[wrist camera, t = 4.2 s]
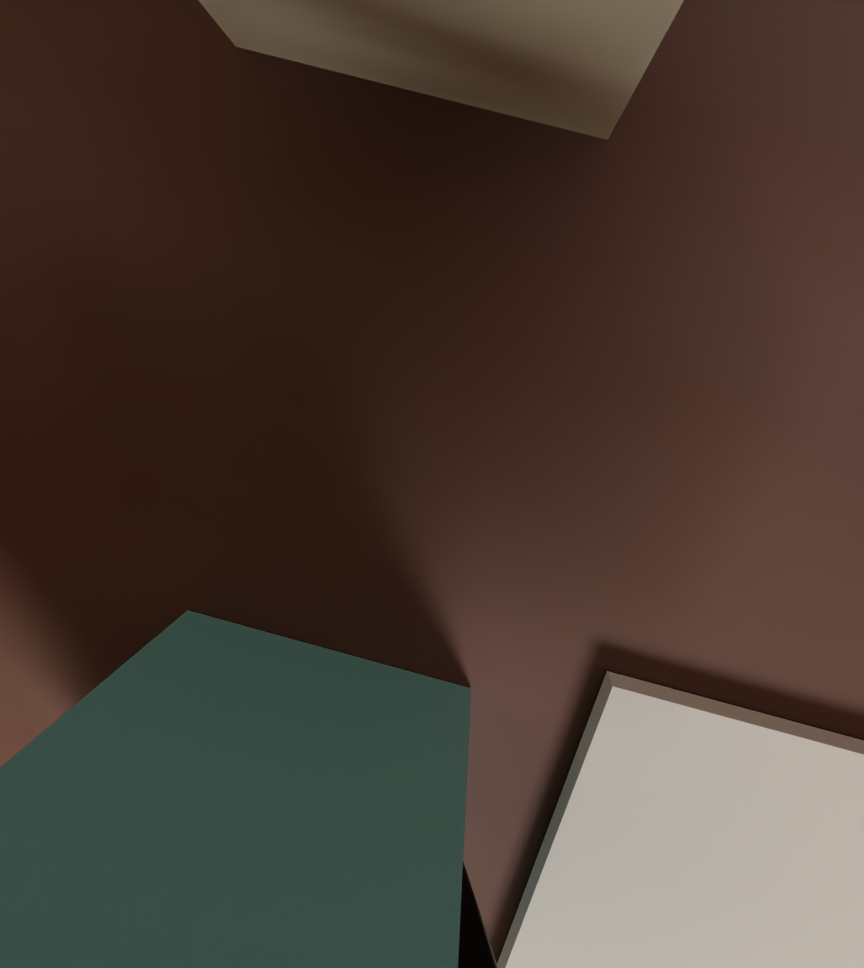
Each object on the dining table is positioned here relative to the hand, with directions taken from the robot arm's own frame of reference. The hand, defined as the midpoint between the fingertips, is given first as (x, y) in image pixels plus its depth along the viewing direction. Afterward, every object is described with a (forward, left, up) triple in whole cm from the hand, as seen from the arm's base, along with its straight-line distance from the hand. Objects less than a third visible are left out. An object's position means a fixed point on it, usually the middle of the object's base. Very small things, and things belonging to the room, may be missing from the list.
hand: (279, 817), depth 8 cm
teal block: (0, 0, -1) cm, 1 cm away
